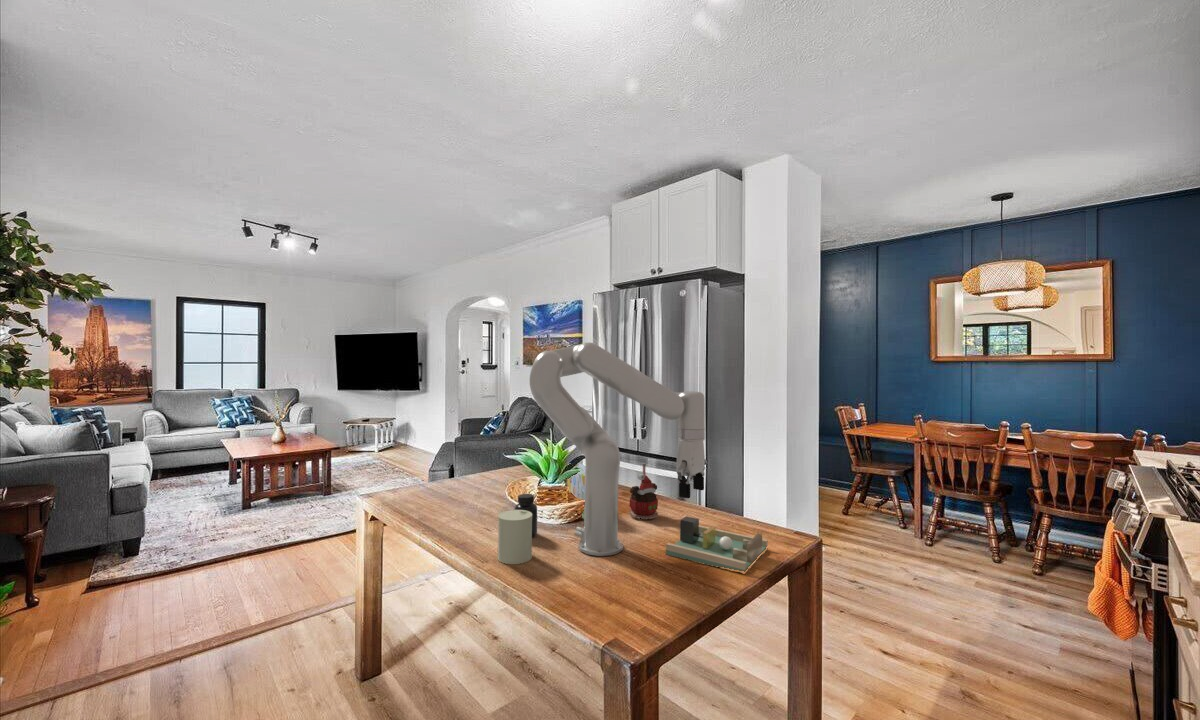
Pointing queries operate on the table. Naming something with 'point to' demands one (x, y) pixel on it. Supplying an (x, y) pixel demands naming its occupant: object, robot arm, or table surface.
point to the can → (515, 536)
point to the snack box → (578, 484)
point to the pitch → (713, 550)
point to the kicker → (695, 532)
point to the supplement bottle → (528, 509)
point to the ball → (725, 543)
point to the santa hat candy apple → (644, 498)
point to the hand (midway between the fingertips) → (691, 493)
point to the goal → (749, 549)
